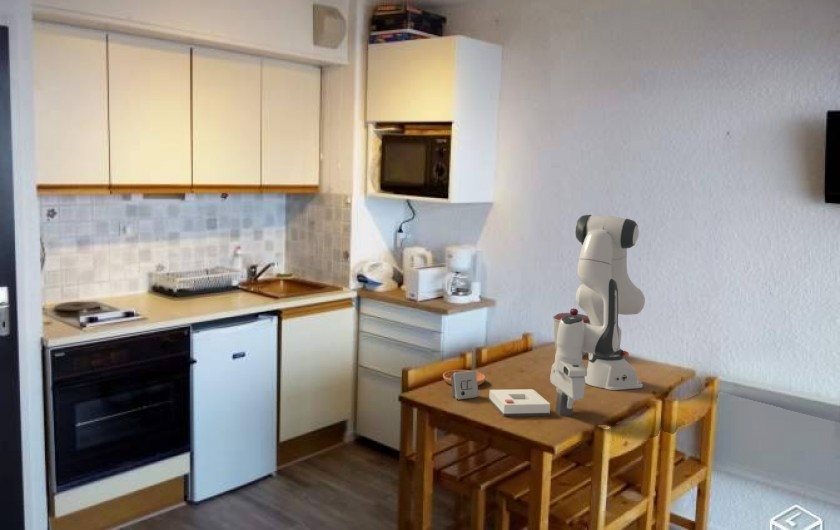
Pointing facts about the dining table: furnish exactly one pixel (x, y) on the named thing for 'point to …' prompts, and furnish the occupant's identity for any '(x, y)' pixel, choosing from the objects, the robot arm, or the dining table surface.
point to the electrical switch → (464, 385)
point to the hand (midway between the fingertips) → (564, 404)
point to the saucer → (448, 374)
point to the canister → (572, 312)
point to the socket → (519, 402)
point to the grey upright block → (562, 404)
